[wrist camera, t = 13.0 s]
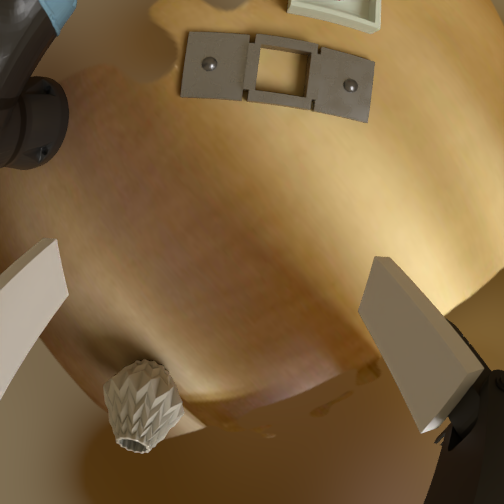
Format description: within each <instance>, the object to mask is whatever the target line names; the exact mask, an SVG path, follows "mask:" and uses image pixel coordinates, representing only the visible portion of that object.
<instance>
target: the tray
mask: <svg viewBox="0 0 504 504" xmlns="http://www.w3.org/2000/svg"><path fill="white" fill-rule="evenodd" d="M287 13H291V14H296V15H302V16H307V17H311V18H316V19H320V20H324V21H328V22H332V23H336V24H340V25H343V26H347V27H350V28H353V29H357V30H360V31H363V32H366V33H369V34H372V33H374V32H376V31H378V30H380V22H381V0H345V1H335V0H288V7H287Z"/></svg>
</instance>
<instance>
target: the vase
mask: <svg viewBox="0 0 504 504" xmlns="http://www.w3.org/2000/svg"><path fill="white" fill-rule="evenodd" d="M103 388H104V398H105V404H106V406H107V407H108V409H109V422H110V424H111V426H112V428H113V433H114V434H115V436H116V443H118V444H120V446H121V447H124V448H126V450H132V451H133V452H135V453H136V452H140V453H142V454H143V453H144V452H146V453H148V452H149V451H150V450H151V449H152V447H155V446H156V444H157V443H158V442H160V441H161V440H163V439H164V438H165V436H166V435H167V433H168V431H169V430H170V428H172V427H174V426H175V425H176V424H177V422H178V421H179V420H180V418H181V417H182V416H183V414H184V409H183V406H182V400H181V398H180V396H179V392H178V389H177V386H176V384H175V382H174V381H173V379H172V377H171V375H169V371H167V370H165V369H164V366H163V365H158V364H157V363H156V362H155V361H148V360H146V359H143V360H142V361H138V360H136V361H135V363H133V364H131V365H128V366H126V367H124V368H123V369H122V370H121V371H120V372H119V373H117V374H115V375H114V376H113V377H112V378H111V379H110V380H109V381H107V382H106V383H105V384H104V385H103Z"/></svg>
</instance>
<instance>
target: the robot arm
mask: <svg viewBox="0 0 504 504" xmlns="http://www.w3.org/2000/svg"><path fill="white" fill-rule="evenodd" d="M76 5H77V0H0V168H2V167H9V168H14V169H20V170H28V169H33V168H36V167H38V166H41V165H43V164H45V163H47V162H48V161H49V160H50V159H51V158H52V157H53V156H54V155H55V154H56V153H57V151H58V150H59V148H60V146H61V144H62V142H63V140H64V137H65V134H66V131H67V126H68V118H69V109H68V102H67V98H66V95H65V93H64V91H63V89H62V87H61V86H60V85H59V84H58V83H57V82H56V81H55V80H53V79H50V78H47V77H38V76H34V77H30V76H31V75H32V73H33V71H34V70H35V68H36V66H37V65H38V63H39V61H40V60H41V58H42V57H43V55H44V54H45V52H46V50H47V49H48V48H49V46H50V45H51V43H52V42H53V40H54V39H55V38H56V36H58V35H59V34H60V30H61V29H62V27H63V26H64V24H65V23H66V21H67V20H68V19H69V17H70V16H71V15H72V13H73V11H74V10H75V8H76ZM68 295H69V294H68V290H67V286H66V282H65V278H64V273H63V269H62V264H61V259H60V254H59V249H58V243H57V239H50V238H43V239H42V240H41V241H39V242H38V243H37V244H36V245H34V246H33V247H32V248H31V249H30V250H28V251H27V252H26V253H25V254H24V255H22V256H21V257H20V258H19V259H18V260H17V261H15V262H14V263H13V264H12V265H11V266H10V267H9V268H7V269H6V270H5V271H4V272H3V273H2V274H1V275H0V400H1V398H2V396H3V394H4V392H5V390H6V389H7V387H8V385H9V383H10V382H11V380H12V378H13V377H14V375H15V373H16V371H17V370H18V368H19V367H20V365H21V363H22V362H23V360H24V358H25V357H26V355H27V354H28V352H29V350H30V349H31V347H32V346H33V344H34V343H35V341H36V340H37V338H38V337H39V335H40V334H41V333H42V331H43V330H44V328H45V327H46V325H47V324H48V322H49V321H50V320H51V318H52V317H53V315H54V314H55V313H56V311H57V310H58V309H59V307H60V306H61V305H62V303H63V302H64V301H65V299H66V298H67V297H68ZM358 312H359V314H360V316H361V318H362V320H363V321H364V323H365V325H366V327H367V329H368V330H369V332H370V334H371V336H372V338H373V340H374V341H375V343H376V345H377V347H378V349H379V351H380V353H381V354H382V356H383V358H384V360H385V362H386V364H387V366H388V368H389V370H390V371H391V374H392V375H393V377H394V379H395V381H396V383H397V385H398V387H399V389H400V391H401V393H402V395H403V397H404V400H405V402H406V404H407V406H408V408H409V410H410V412H411V414H412V416H413V418H414V420H415V422H416V425H417V427H418V429H419V431H420V433H423V432H426V431H429V430H432V429H435V428H438V427H439V426H440V425H441V424H442V422H443V421H444V420H445V419H446V418H447V417H449V419H450V421H451V423H450V424H449V425H448V427H447V428H446V429H445V430H444V431H443V432H442V433H441V434H440V435H439V436H438V437H437V439H436V440H435V442H434V443H438V442H439V441H440V440H441V439H442V438H443V437H444V441H443V442H442V443H441V445H442V449H441V452H440V456H439V460H438V463H437V466H436V470H435V473H434V476H433V479H432V482H431V485H430V488H429V491H428V493H427V496H426V499H425V501H424V504H504V371H502V370H493V371H491V370H490V369H489V368H488V366H487V365H486V363H485V362H484V361H483V359H482V358H481V357H480V356H479V354H478V353H477V352H476V350H475V349H474V348H473V347H472V345H471V344H469V342H468V340H467V339H466V338H465V337H463V334H462V333H461V332H460V331H459V329H458V328H457V327H456V326H455V325H454V324H453V323H452V322H450V321H449V320H447V319H446V318H445V317H444V316H443V315H442V314H441V313H440V312H439V310H438V309H437V308H436V307H435V306H434V305H433V304H432V302H431V301H430V300H429V299H428V298H427V297H426V296H425V294H424V293H423V292H422V291H421V290H420V289H419V288H418V287H417V286H416V284H415V283H414V282H413V281H412V280H411V279H410V278H409V277H408V276H407V275H406V274H405V273H404V272H403V270H402V269H401V268H400V267H399V266H398V265H397V264H396V263H395V262H394V261H393V260H392V259H391V258H390V257H377V256H375V257H374V260H373V264H372V267H371V271H370V274H369V278H368V281H367V284H366V288H365V291H364V294H363V297H362V300H361V303H360V307H359V310H358Z"/></svg>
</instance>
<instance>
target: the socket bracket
mask: <svg viewBox="0 0 504 504" xmlns="http://www.w3.org/2000/svg"><path fill="white" fill-rule="evenodd" d="M249 40H250V35H245V34H233V33H217V32H189V37H188V43H187V49H186V56H185V63H184V71H183V79H182V87H181V96H180V97H182V98H207V99H223V100H235V101H242V93H243V91H248V98H247V102H255V103H263V104H271V105H278V106H285V107H291V108H297V109H303V110H310V109H311V101H313V108H312V111H314V112H319V113H324V114H329V115H334V116H338V117H343V118H347V119H351V120H355V121H359V122H363V123H368V117H369V110H370V102H371V94H372V85H373V76H374V66H375V62H373V61H370V60H367V59H364V58H361V57H357V56H354V55H351V54H347V53H343V52H340V51H336V50H332V49H328V48H324V47H321V48H320V51H319V54H317V52H318V44H315V43H311V42H306V41H301V40H296V39H290V38H284V37H278V36H271V35H264V34H256V37H255V43H249ZM260 48H266V49H273V50H280V51H286V52H292V53H297V54H303V55H308V61H307V70H306V78H305V86H304V94H303V97H299V96H293V95H287V94H280V93H273V92H266V91H258V90H255V86H256V78H257V70H258V63H259V55H260Z"/></svg>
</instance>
